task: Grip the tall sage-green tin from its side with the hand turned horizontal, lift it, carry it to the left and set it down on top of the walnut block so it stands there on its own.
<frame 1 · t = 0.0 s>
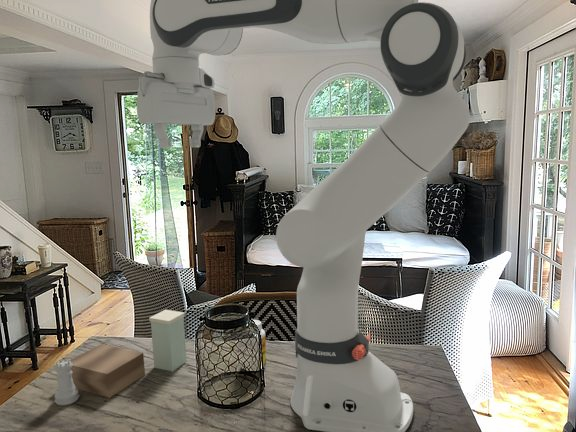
hand: (181, 147, 94), 48 cm above the table, tool pointing down, fingers open, 8 cm apart
walnut block: (106, 380, 99), on the table
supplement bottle: (253, 368, 103), on the table
rook chess piece: (67, 401, 92), on the table
sage tin: (170, 364, 105), on the table
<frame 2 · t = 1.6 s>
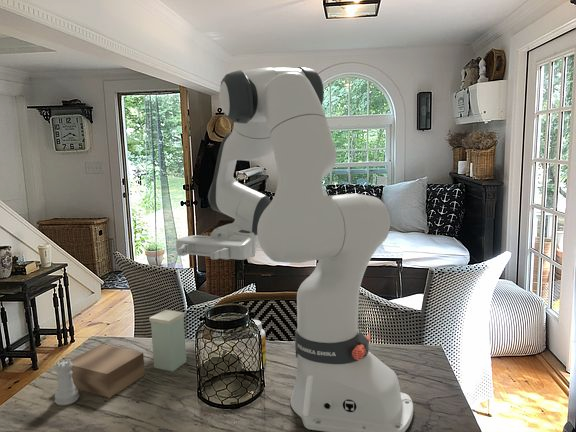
hand: (196, 254, 113), 23 cm above the table, tool horizontal, fingers open, 8 cm apart
nothing on the table moved.
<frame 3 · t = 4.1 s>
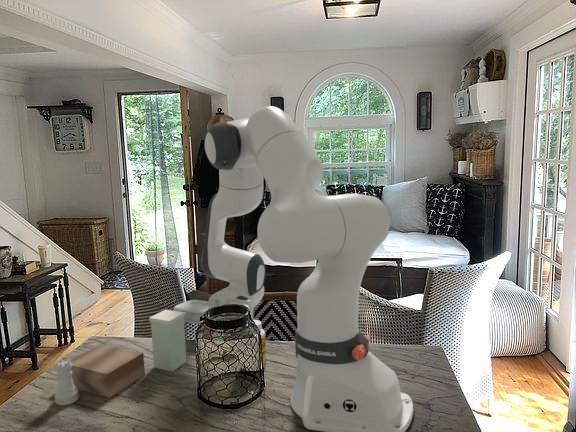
hand: (193, 325, 112), 6 cm above the table, tool horizontal, fingers open, 8 cm apart
nothing on the table moved.
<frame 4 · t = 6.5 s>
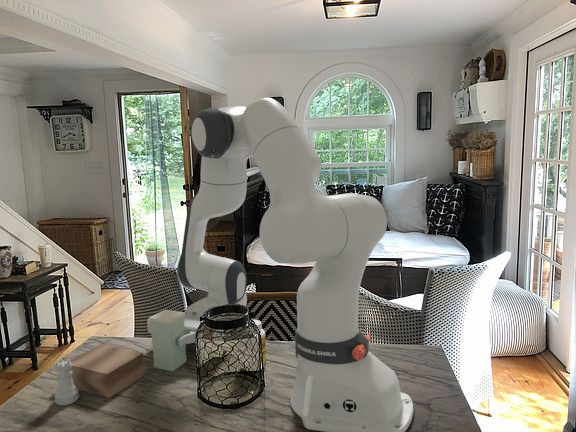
hand: (166, 340, 104), 6 cm above the table, tool horizontal, fingers closed on sage tin, 5 cm apart
sage tin: (170, 364, 105), on the table, touching gripper
everything else where it was.
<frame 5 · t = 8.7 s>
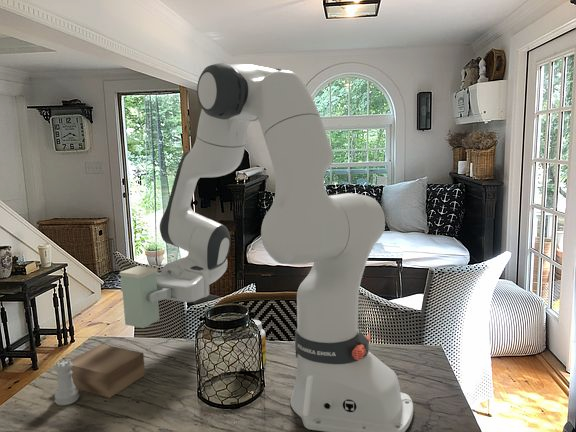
hand: (137, 296, 100), 17 cm above the table, tool horizontal, fingers closed on sage tin, 5 cm apart
sage tin: (142, 322, 102), point 11 cm above the table, touching gripper
everything else where it was.
when the fingers open (12 cm above the table, at t = 10.9 s): sage tin stays where it is, resting on walnut block.
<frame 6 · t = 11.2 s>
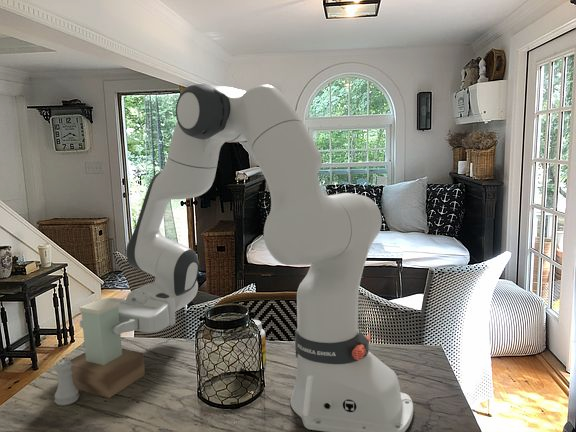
hand: (97, 327, 96), 12 cm above the table, tool horizontal, fingers open, 8 cm apart
sage tin: (104, 357, 98), point 5 cm above the table, touching walnut block
everything else where it was.
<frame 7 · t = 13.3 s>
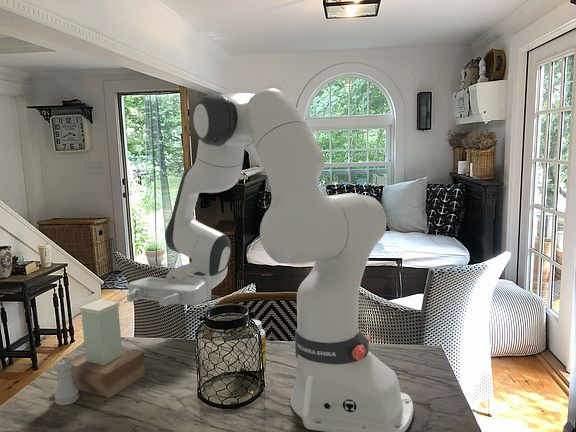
hand: (144, 300, 108), 14 cm above the table, tool horizontal, fingers open, 8 cm apart
nothing on the table moved.
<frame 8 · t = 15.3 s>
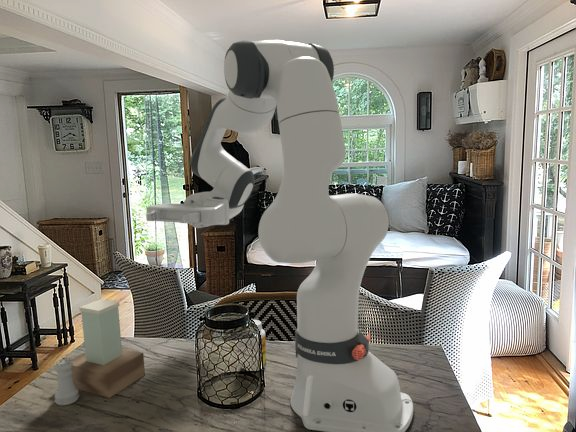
hand: (164, 218, 108), 32 cm above the table, tool horizontal, fingers open, 8 cm apart
nothing on the table moved.
at the end: sage tin inside the target area on the walnut block (0.0 cm from its centre), point 5.0 cm above the walnut block's base; sage tin tilted 0°; the gripper is holding nothing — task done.
